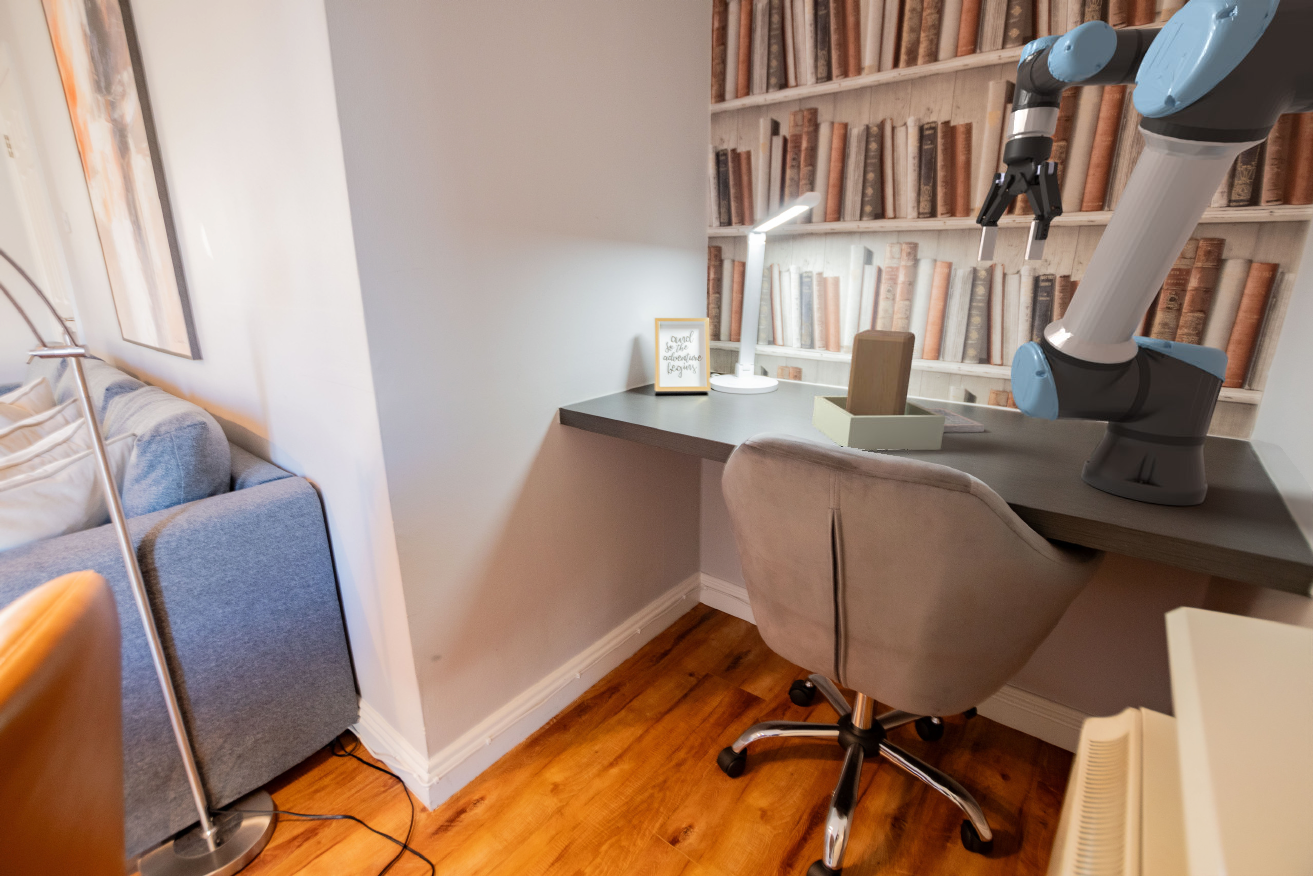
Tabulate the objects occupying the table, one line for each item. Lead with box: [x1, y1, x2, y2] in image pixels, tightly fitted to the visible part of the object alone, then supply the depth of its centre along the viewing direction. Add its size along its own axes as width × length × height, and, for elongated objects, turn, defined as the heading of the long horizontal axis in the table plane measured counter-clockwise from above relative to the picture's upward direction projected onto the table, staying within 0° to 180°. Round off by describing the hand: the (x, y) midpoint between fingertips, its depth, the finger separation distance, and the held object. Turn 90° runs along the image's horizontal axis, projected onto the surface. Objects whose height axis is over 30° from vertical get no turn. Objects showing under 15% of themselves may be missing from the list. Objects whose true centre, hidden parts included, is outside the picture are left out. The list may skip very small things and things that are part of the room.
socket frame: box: [926, 407, 986, 434], centre depth 127 cm, size 15×15×2 cm
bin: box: [812, 395, 947, 452], centre depth 115 cm, size 18×18×6 cm
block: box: [846, 329, 916, 416], centre depth 113 cm, size 10×10×20 cm
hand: (1007, 260), depth 111 cm, fingers open, 13 cm apart
